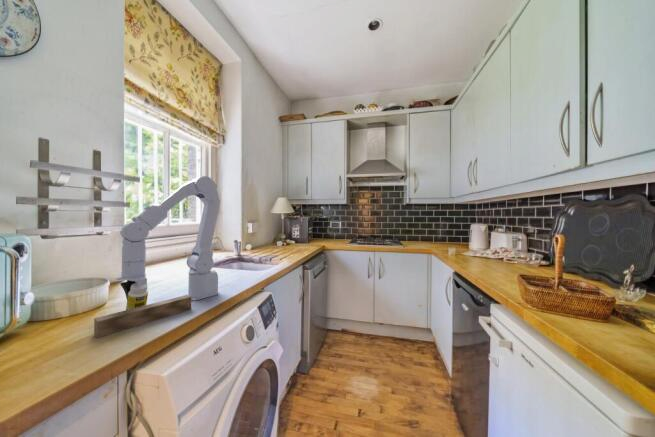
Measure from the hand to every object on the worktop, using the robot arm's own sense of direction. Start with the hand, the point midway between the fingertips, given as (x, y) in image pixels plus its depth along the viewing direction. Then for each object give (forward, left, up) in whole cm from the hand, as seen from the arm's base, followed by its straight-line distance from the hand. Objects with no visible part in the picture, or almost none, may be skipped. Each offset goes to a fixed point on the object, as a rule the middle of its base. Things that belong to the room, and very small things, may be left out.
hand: (133, 304), depth 73 cm
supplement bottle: (0, +2, -2) cm, 3 cm away
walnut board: (0, +12, -2) cm, 12 cm away
